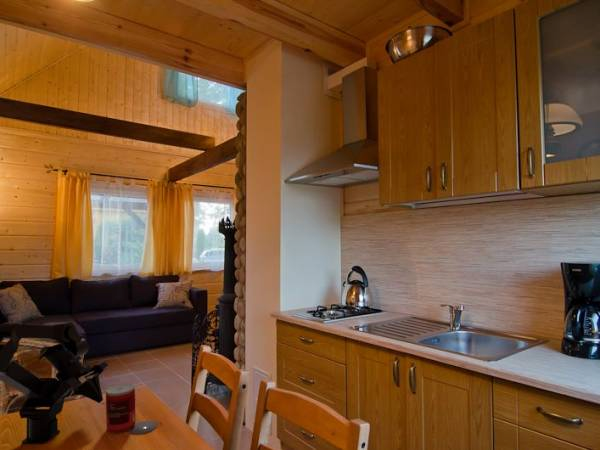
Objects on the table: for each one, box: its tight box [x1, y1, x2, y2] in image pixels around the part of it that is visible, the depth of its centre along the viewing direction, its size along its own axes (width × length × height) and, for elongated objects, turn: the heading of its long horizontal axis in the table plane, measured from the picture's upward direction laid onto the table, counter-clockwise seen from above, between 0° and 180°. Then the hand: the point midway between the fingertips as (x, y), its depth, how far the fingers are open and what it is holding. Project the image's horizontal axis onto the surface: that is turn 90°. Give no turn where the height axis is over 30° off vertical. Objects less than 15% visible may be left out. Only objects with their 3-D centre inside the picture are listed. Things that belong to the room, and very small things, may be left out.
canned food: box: [105, 382, 137, 434], centre depth 110 cm, size 8×8×11 cm
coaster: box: [127, 420, 158, 435], centre depth 110 cm, size 8×8×1 cm
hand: (101, 401), depth 111 cm, fingers closed
